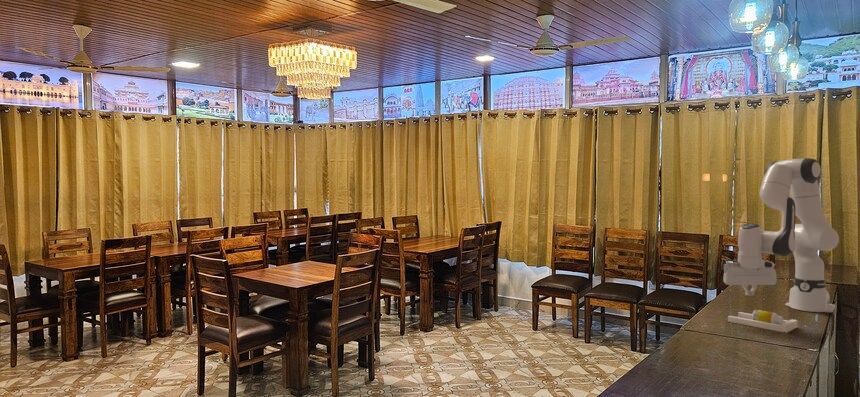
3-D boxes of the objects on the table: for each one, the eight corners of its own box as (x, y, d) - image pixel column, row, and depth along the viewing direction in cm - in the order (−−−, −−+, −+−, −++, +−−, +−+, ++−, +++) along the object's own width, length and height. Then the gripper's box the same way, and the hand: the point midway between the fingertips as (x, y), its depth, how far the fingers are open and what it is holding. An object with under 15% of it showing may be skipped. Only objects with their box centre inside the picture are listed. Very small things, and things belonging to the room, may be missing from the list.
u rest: (739, 316, 245) (739, 310, 245) (797, 327, 228) (797, 320, 228) (727, 321, 237) (727, 314, 237) (786, 332, 220) (786, 325, 220)
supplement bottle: (750, 320, 233) (777, 325, 225) (753, 307, 235) (780, 312, 227) (755, 324, 237) (782, 329, 228) (758, 311, 238) (785, 316, 230)
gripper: (726, 263, 234) (726, 296, 234) (778, 263, 231) (778, 296, 232) (720, 261, 240) (720, 293, 241) (771, 261, 238) (771, 293, 238)
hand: (749, 295), depth 236 cm, fingers closed
